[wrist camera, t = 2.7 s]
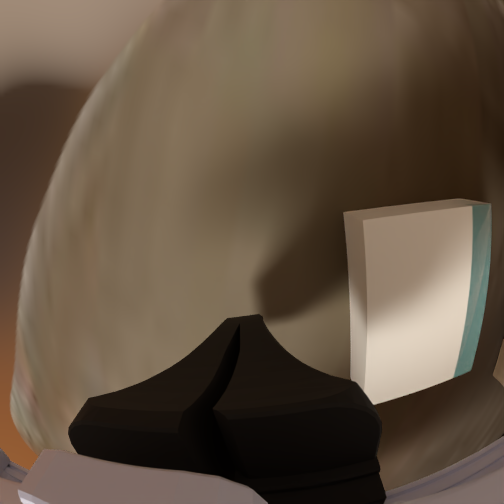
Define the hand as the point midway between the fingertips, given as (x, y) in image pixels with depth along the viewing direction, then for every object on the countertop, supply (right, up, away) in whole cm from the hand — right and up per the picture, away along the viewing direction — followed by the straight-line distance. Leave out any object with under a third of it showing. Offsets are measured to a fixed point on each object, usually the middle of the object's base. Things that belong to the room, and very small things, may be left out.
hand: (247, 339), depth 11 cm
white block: (+7, +2, +1) cm, 8 cm away
